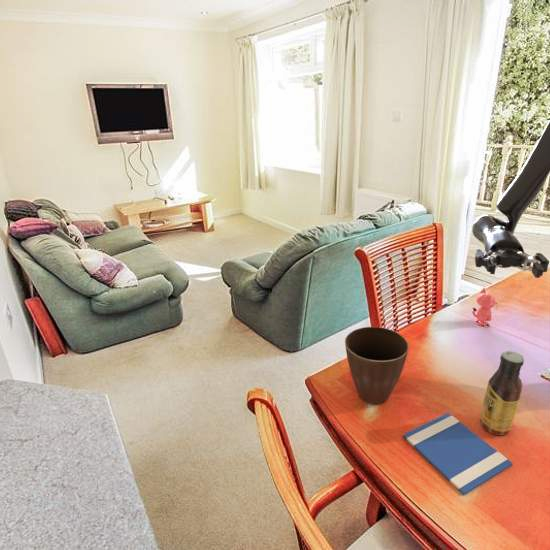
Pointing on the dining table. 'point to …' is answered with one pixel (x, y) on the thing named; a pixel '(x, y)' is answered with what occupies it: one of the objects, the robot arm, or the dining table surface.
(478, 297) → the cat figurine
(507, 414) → the sauce bottle
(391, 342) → the flower pot
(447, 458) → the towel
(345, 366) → the dining table surface
